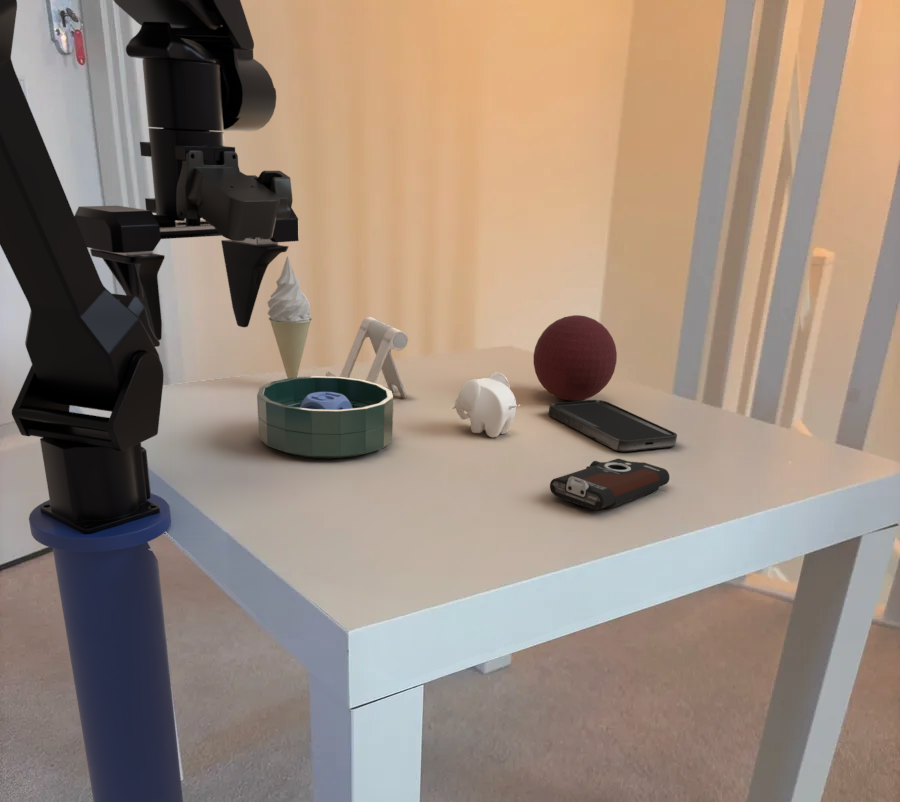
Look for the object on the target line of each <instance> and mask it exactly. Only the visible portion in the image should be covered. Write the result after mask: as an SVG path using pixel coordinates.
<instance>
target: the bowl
mask: <svg viewBox="0 0 900 802" xmlns="http://www.w3.org/2000/svg"><path fill="white" fill-rule="evenodd" d="M315 392H334V393H339V394H342V395H344V396H345V397H346V398H347V399H348V400H349V402H350V403H351V405H352V408H353V409H342V410H323V409H306V408H300V406H301V404H302V402H303V400H304V399H305V397H306V396H307V395H309V394H311V393H315ZM256 400H257V422H258V423H257V424H258V438H259V440H260V441H262V442H263V443H264V444H265V445H266V446H267V447H269V448H273V449H275V450H278V451H281V452H284V453H287V454H290V455H294V456H298V457H302V458H310V459H344V458H352V457H353V458H354V457H358V456H362V455H365V454H369V453H372V452H376V451H377V450H381V449H384V448H385V447H386V446H388V445H389V444H390V443H391V442H392V441H393V426H394V425H393V424H394V420H393V419H394V396H393V391H391V390H390V389H389V388H388V387H386V386H384V385H382V384H380V383H376V382H375V383H372V382H369V381H366V379H365V380H364V379H359V378H352V377H349V378H344V377H339V376H336V377H327V376H326V375H324V376H323V375H313V376H312V375H311V376H299V377H298V376H297V378H283V379H279V380H274V381H270V382H268V383H266V384H264V385H263V386H260V387H259V388H258V391H257V395H256Z"/></svg>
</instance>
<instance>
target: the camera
mask: <svg viewBox="0 0 900 802" xmlns="http://www.w3.org/2000/svg"><path fill="white" fill-rule="evenodd" d="M670 478H671V477H670V473H669V471H668V470H667V469H665V468H664V467H660V466H656V465H653V464H650V463H647V462H639V461H629V460H625V459H621V458H615V459H612V460H608V461H603V462H602V461H598V460H593V461H591V463H590V464H589V466H586V467H585V468H584V469H581V470H577V471H574V472H571V473H567V474H565V475H561V476H558V477H555V478H552V479H551V480H550V483H549V490H550V492H551V494H553V496H555V497H557V498H559V499H562V500H564V501H566V502H569V503H572V504H576V505H578V506H581V507H585V508H589V509H592V510H593V511H594V510H595V511H597V510H602V509H604V508H606V509H612V508H615V507H618V506H620V505H623V504H625V503H628V502H631V501H633V500H636V499H638V498H641V497H644V496H646V495H649V494H651V493H655V492H657V491H658V490H659V489H660V487H663V486H665V485H667V484H668V483H669V482H670Z"/></svg>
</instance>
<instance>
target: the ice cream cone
mask: <svg viewBox="0 0 900 802" xmlns="http://www.w3.org/2000/svg"><path fill="white" fill-rule="evenodd" d="M300 284H301V282H300V280H299V278H298V277H297V276H296V274H295V271H294V269H293V266H292V264H291V261H290V259H289V256H286V258H285V261H284V264H283V267H282V270H281V273H280V276H279V277H278V279H277V280H276V285H277V287H276V289H275V290H274V291H273V292H272V294H270V298H269V300H268V301H267V302H266V303H267V307H268V308H269V309H268V311H267V315H268V316H269V317H268V320H269V321H270V325H271V328H272V331H273V335H274V338H275V342H276V344H277V347H278V352H279V354H280V358H281V362H282V365H283V368H284V371H285V374H286V379H288V378H297V377H298V374H299V370H300V366H301V362H302V358H303V354H304V350H305V346H306V342H307V339H308V335H309V329H310V325H311V323H312V321H313V319H312V318H311V312H310V310H311V309H310V308H311V302H310V301H309V299H308V297H307V296H306V295H305V294H304V292H303V291H302V290H301V288H300Z"/></svg>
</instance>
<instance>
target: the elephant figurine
mask: <svg viewBox="0 0 900 802" xmlns="http://www.w3.org/2000/svg"><path fill="white" fill-rule="evenodd" d="M510 388H511V385H510V382H509V380H508V378H507V377H506V375H504V374H503V373H501V372H498V371H494V372H492V373H490V374H488V376H487V377H486V378H485V377H484V378H483V377H482V378H481V377H480V378H477V379H473V378H472V379H468V381H466V382H465V383H464V385H462V386H461V388H460V390H459V392H458V395H457V398H456V399H455V402H454V405H453V407H451V409H452V410H454V409H455V410H456V413H457V415H458V416H459V417H460V419H462V420H467V419H469V422H470V430H471V432H472V433H473V434H481V433H483V431H485V434H486V435H487V436H488V437H490V438H497V437H499V435H500V434H501V435H504V434H507V433H508V432H509V430H510V429H511V426H512V425H513V421H514V419H515V415H516V412H517V407H521V404H520V403H519V404H518V405H517V400H516V397H515V394H514V392H513V391H512V390H511V389H510Z"/></svg>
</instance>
